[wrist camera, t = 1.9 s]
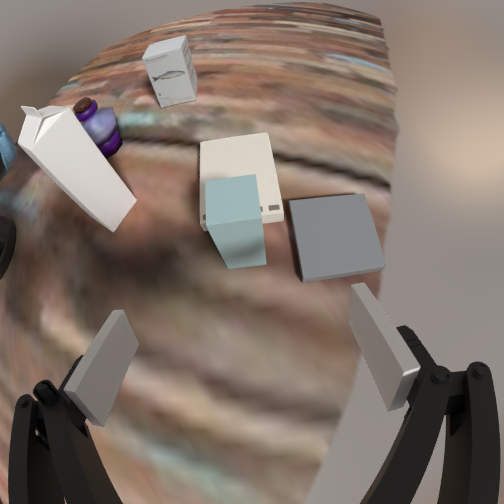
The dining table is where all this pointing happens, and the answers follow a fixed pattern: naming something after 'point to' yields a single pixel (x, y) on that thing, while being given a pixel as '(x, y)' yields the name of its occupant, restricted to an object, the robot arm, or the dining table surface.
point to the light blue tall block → (236, 220)
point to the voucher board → (242, 170)
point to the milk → (75, 163)
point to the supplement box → (171, 71)
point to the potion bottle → (99, 125)
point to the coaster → (335, 237)
